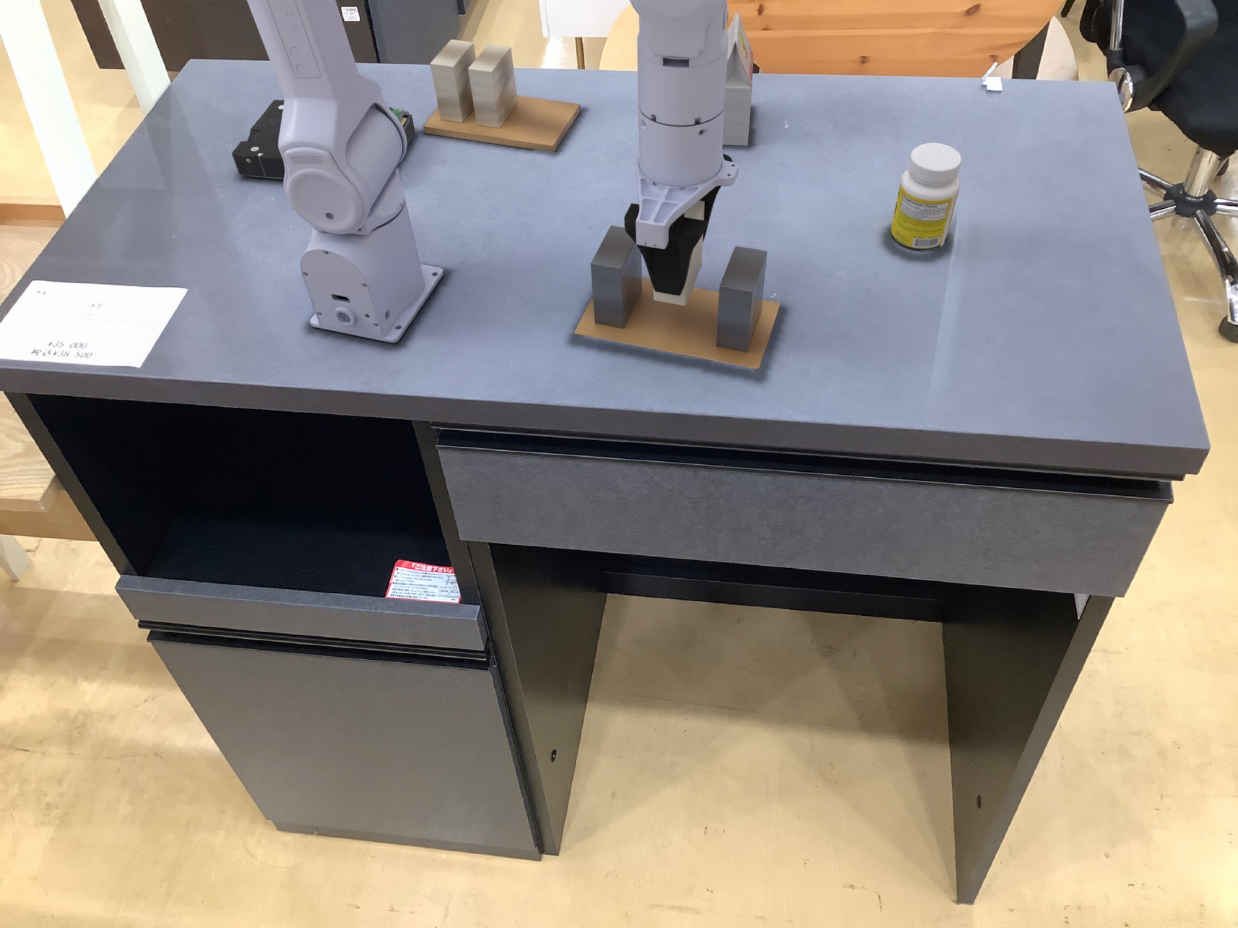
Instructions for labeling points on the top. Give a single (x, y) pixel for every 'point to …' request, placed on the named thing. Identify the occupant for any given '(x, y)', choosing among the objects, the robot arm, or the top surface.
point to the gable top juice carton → (738, 85)
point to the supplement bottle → (927, 197)
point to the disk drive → (263, 143)
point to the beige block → (695, 262)
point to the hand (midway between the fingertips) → (678, 268)
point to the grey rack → (680, 307)
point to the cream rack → (492, 101)
